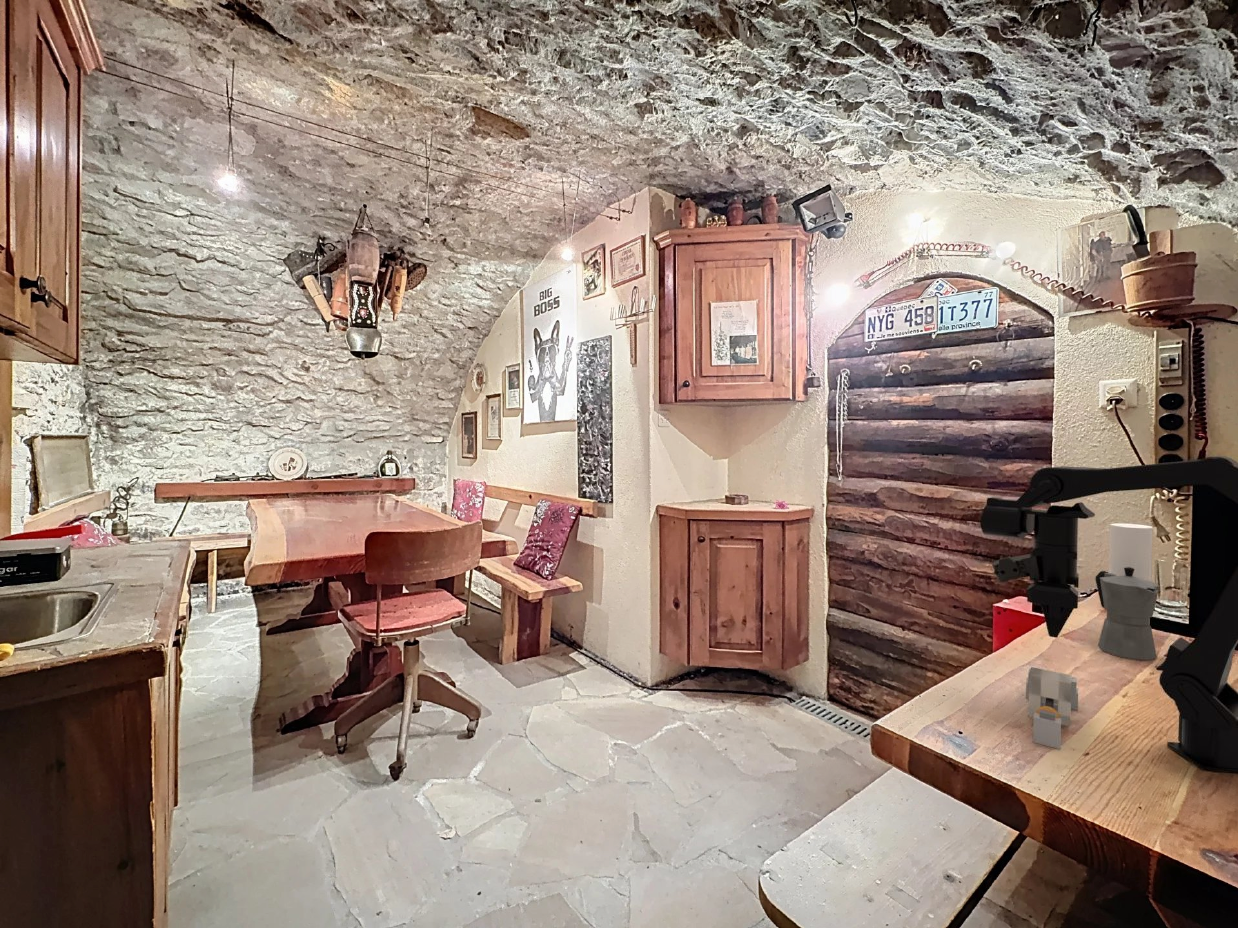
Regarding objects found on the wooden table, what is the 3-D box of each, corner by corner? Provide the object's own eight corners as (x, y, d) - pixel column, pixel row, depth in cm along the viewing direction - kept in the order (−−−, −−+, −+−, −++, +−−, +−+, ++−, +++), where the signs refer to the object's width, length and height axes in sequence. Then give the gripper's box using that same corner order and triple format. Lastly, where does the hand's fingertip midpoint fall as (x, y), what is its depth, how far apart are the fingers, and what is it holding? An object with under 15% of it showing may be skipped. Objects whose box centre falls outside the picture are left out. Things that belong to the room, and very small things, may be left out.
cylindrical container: (1100, 632, 132) (1103, 524, 130) (1117, 627, 135) (1120, 522, 133) (1138, 641, 125) (1142, 529, 124) (1155, 636, 128) (1159, 526, 127)
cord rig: (1027, 693, 100) (1027, 666, 100) (1077, 704, 96) (1078, 676, 96) (1017, 737, 86) (1018, 705, 86) (1077, 753, 81) (1077, 720, 81)
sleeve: (1030, 706, 94) (1031, 666, 93) (1070, 716, 90) (1071, 674, 90) (1028, 716, 91) (1029, 674, 90) (1070, 726, 87) (1071, 683, 87)
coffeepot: (1178, 665, 112) (1182, 575, 111) (1127, 664, 113) (1130, 574, 112) (1118, 638, 128) (1120, 558, 127) (1073, 637, 128) (1075, 558, 128)
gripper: (1002, 531, 106) (1001, 613, 107) (989, 546, 91) (988, 641, 92) (1079, 537, 99) (1077, 625, 99) (1078, 554, 84) (1076, 657, 85)
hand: (1053, 636), depth 94 cm, fingers closed
